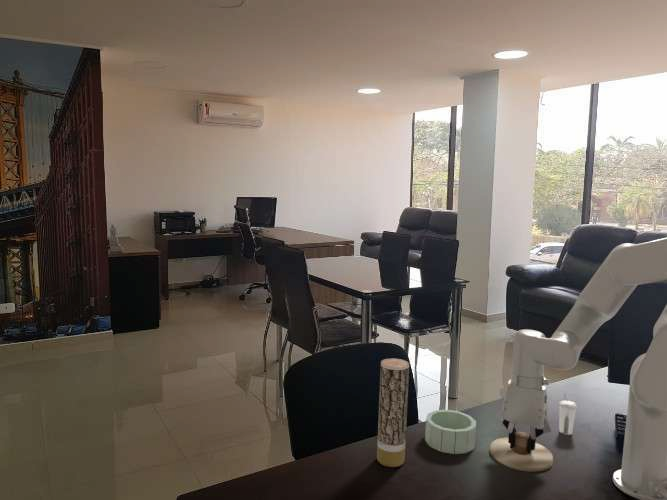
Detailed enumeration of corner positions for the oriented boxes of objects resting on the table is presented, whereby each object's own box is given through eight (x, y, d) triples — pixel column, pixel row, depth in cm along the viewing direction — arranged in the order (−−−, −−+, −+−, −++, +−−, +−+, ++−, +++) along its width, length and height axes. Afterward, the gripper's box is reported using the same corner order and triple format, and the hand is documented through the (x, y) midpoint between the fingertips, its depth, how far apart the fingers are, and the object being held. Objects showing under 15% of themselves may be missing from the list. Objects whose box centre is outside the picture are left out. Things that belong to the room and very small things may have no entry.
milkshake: (570, 428, 150) (573, 394, 149) (576, 437, 145) (580, 402, 144) (553, 427, 151) (556, 393, 149) (559, 435, 145) (562, 401, 144)
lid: (565, 468, 128) (567, 446, 128) (511, 474, 125) (513, 452, 124) (528, 439, 143) (530, 419, 142) (479, 444, 139) (480, 424, 138)
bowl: (483, 451, 135) (485, 429, 135) (437, 455, 132) (438, 433, 132) (461, 428, 148) (462, 408, 147) (418, 432, 145) (419, 411, 144)
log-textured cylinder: (382, 470, 125) (386, 368, 122) (372, 455, 132) (376, 359, 128) (408, 466, 127) (413, 366, 124) (398, 452, 133) (402, 357, 130)
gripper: (565, 382, 130) (558, 452, 132) (497, 368, 139) (492, 434, 141) (559, 392, 124) (553, 465, 126) (489, 376, 133) (484, 445, 135)
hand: (521, 448), depth 134 cm, fingers closed on lid, 3 cm apart
